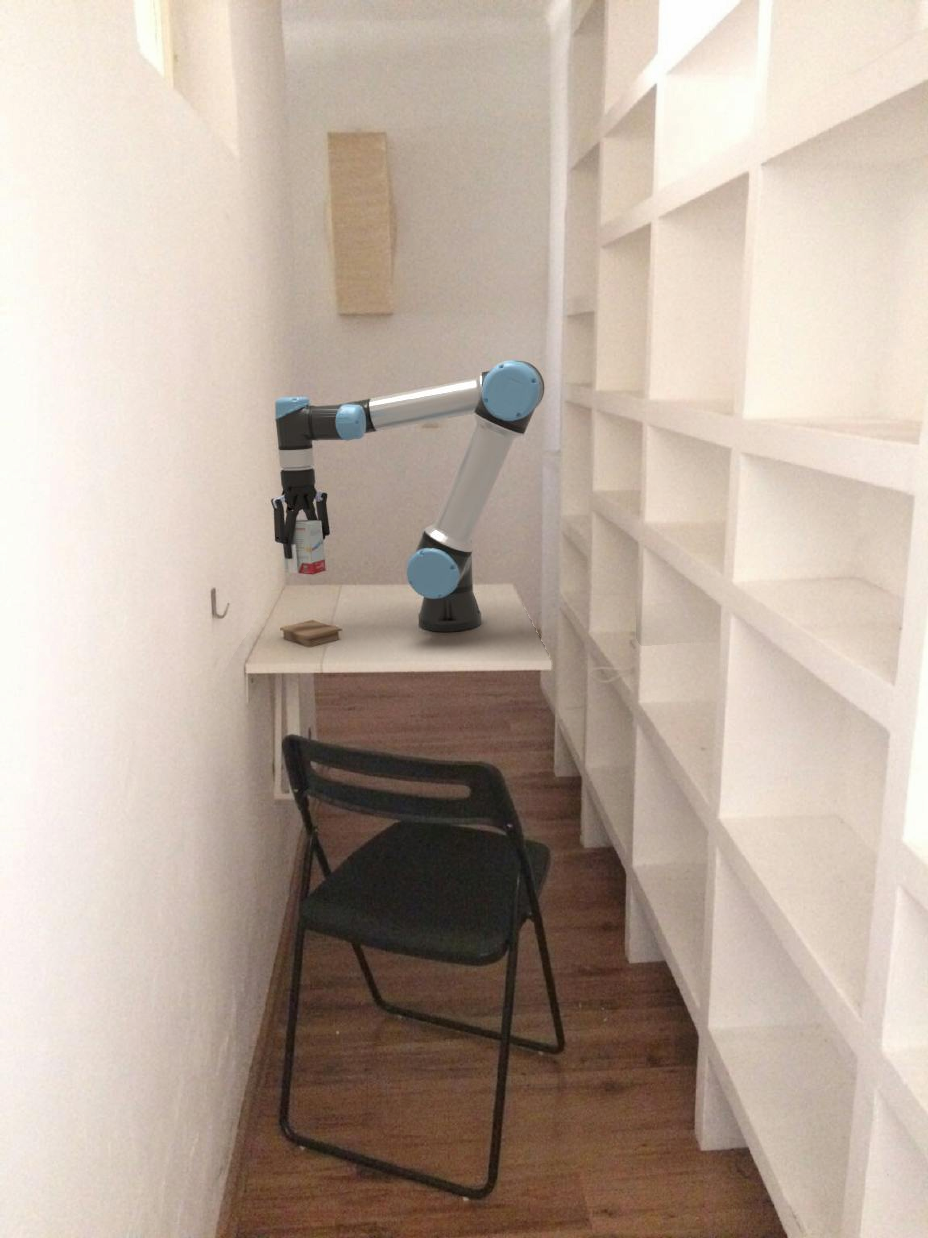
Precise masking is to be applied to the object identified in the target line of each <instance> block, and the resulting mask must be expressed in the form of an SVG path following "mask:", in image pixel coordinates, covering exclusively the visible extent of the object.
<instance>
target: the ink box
mask: <svg viewBox="0 0 928 1238" xmlns="http://www.w3.org/2000/svg"><path fill="white" fill-rule="evenodd" d="M292 544H295V545H296V555H297V566H298V573H297V574H302V575H304V574H305V575H310V576H311V575H312V576H313V575H316V574H320V573H323V572H326V571H327V569H326V559H325V557H326V556H325V548H324V546H325V545H324V540H323V534H322V522H321V521H316V520H307V519H299V518H298V519H296V525H295V530H294V536H293V542H292ZM282 549H283V553H284V546H283V545H282ZM283 562H284V570H285V572H286V573H290V572H289V569H288V559H286V558H285V556H284V555H283Z"/></svg>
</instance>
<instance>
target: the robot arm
mask: <svg viewBox="0 0 928 1238" xmlns="http://www.w3.org/2000/svg"><path fill="white" fill-rule="evenodd" d="M544 394H545V381H544V379H543V376H542V374H541V373H540V371H539V369H538V368H537V367H536V366H534V365H533V364H531V363H529V362H526V361H524V360H523V361H522V360H512V359H511V360H505V361H502V362H500V363H498V364H496V365H495V366H494V367H493V368H491V369H490V370H487V371H483V372H480V373H479V375H478V376H477V377H476V378H470V379H464V380H460V381H455V382H449V383H444V384H440V385H434V386H430V387H423V388H419V389H414V390H413V389H412V390H407V391H403V392H398V393H393V394H387V395H382V396H378V397H371V398H367V399H360V400H354V401H348V402H346V403H339V404H331V405H330V404H329V405H328V404H327V405H311V403H310V399H309V398H308V397H307V396H290V397H289V396H288V397H279V398H277V399H276V400H275V403H274V405H275V407H274V409H275V411H274V412H275V413H274V414H275V418H274V421H275V425H276V436H277V445H278V446H277V447H278V455H279V467H280V468H281V470H280V472H279V473H280V483H281V488H282V492H281V494H280V495H281V496H279V497H276V498H271V500H270V503H271V505H272V506H271V507H272V508H273V523H274V524H273V526H274V531H273V532H274V541H275V543H279V544H281V545H282V547H283V546H284V552H283V557H284V556H285V558H286V559H288V569H289V572H288V573H291V574H295V575H296V574H299V573H298V566H297V555H296V545H295V544H292V542H293V536H294V530H295V525H296V519H297V518H298V516H299V513H300V511H302V512H303V513H304V514H305V516H306V520H316V521H321V522H322V534H323V541H325V540H326V536H330V534H331V531H330V522H329V516H328V515H329V514H328V508H327V507H328V506H327V499H328V492H325V491H324V492H323V491H317V489H316V486H315V485H316V476H315V475H316V473H315V472H316V471H315V469H314V468H313V466H315V459H314V449H313V441H353V440H360V439H362V438H364V437H365V434H370V433H376V432H379V431H386V430H390V429H392V430H393V429H397V428H403V427H408V426H412V425H419V424H424V423H425V424H426V423H428V422H429V423H430V422H434V421H441V420H446V419H451V418H457V417H463V416H468V415H474V419H475V420H476V425H475V427H474V430H473V432H472V434H471V437H470V439H469V441H468V443H467V446H466V447H465V451H464V453H463V456H462V459H461V461H460V463H459V465H458V468H457V470H456V472H455V475H454V477H453V479H452V482H451V484H450V486H449V488H448V491H447V493H446V495H445V498H444V501H443V503H442V506H441V508H440V510H439V513H438V516H437V517H436V519H435V522H434V524H431V525H429V526H427V527H425V528H424V530H423V531H421V538H420V539H419V542H418V545H417V547H416V550H415V551H414V553H413V554H411V556H410V558H409V559H408V561H407V566H406V578H407V580H408V583H409V586H410V587H411V588H412V590H413V591H414V592H416V593H417V594H418V595H420V596H422V602H421V607H420V612H419V614H418V617H417V618H418V627H419V628H421V629H423V630H426V631H429V632H430V631H431V632H444V633H446V632H448V633H450V632H459V631H460V632H461V631H466V630H470V629H474V628H477V627H478V626H481V624H482V612H481V610H480V609H479V605H478V602H477V598H476V596H475V594H474V586H473V585H474V583H473V581H474V580H473V559H472V557H473V556H472V555H473V551H474V549H475V548H474V546H473V541H472V537H473V533H474V531H475V529H476V527H477V525H478V522H479V520H480V518H481V516H482V513H483V511H484V508H485V507H486V504H487V503H488V500H489V497H490V495H491V494H492V493H491V492H492V491H493V489H494V486H495V483H496V482H497V479H498V477H499V475H500V472H501V469H502V468H503V465H504V464H505V461H506V458H507V456H508V454H509V451H510V450H511V447H512V444H513V442H514V440H515V439H517V438H520V437H522V436H524V435H525V433H526V431H527V429H528V426H529V423H530V422H531V420H532V417H533V414H534V412H535V410H536V409H537V407H538V406H539V405H540V404H541V402H542V401H543V400H542V399H543V398H544ZM314 500H315V504H314ZM285 504H286V508H285V507H284V506H285ZM315 507H316V508H315ZM284 508H285V509H284ZM285 514H286V516H285Z"/></svg>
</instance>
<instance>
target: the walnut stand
mask: <svg viewBox="0 0 928 1238" xmlns="http://www.w3.org/2000/svg"><path fill="white" fill-rule="evenodd" d="M279 630H280V631H283V632H282V633H283V639H286V640H289V641H292V642H295V643H298V644H301V645H303V646H306V647H308V648H309V647H310V648H311V647H314V646H319V645H322V644H326V643H330V642H333V641H337V640H340V634H339V632H342V628H341V627H336V626H333V625H330V624H326V623H324V622H319V621H318V620H313V619H312V620H307V621H303V622H300V623H299V622H298V623H295V624H290V625H288V626H287V625H286V626H283V627H280V628H279Z"/></svg>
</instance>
